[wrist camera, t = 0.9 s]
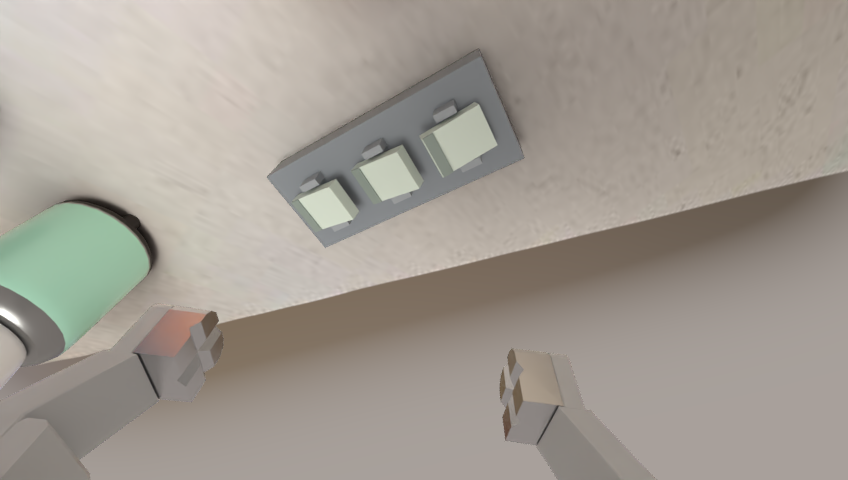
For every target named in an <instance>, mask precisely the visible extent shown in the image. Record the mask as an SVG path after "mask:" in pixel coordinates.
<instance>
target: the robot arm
mask: <svg viewBox="0 0 848 480" xmlns="http://www.w3.org/2000/svg"><path fill="white" fill-rule="evenodd" d="M218 321H219V319H218V316H217V313H216V312H213V311H208V310H201V309H195V308H188V307H182V306H174V305H167V304H160V303H157V304H155V305H153V306H151V307H150V308H149V309H148V310H147V311H146V312H145V313H144V314H143V315H142V316H141V317H140V319H139V320H138V321H137V322H136V323H135V324H134V325H133V326H132V327H131V328H130V329H129V330H128V331H127V332H126V333H125V335H124V336H123V337H122V338H121V339H120V340H119V341H118V342H117V343H116V344H115V345H114V346H113V347H112V348H111V349H110V350H102V351H100V352H98V353H96V354H94V355H92V356H90V357H88V358H86V359H84V360H82V361H80V362H78V363H76V364H74V365H72V366H70V367H67V368H66V369H63V370H61V371H59V372H57V373H55V374H53V375H51V376H49V377H47V378H45V379H43V380H41V381H39V382H37V383H35V384H32V385H30V386H28V387H26V388H24V389H22V390H20V391H18V392H16V393H14V394H12V395H10V396H8V397H6V398H4V399H2V400H0V480H90V473H89V472H88V470H87V469H86V468H85V467H84V465H83V464H82V463H81V462H80V459H81V458H83V457H84V456H85V455H87V454H88V453H89V452H91V451H92V450H93V449H95V448H96V447H97V446H99V445H100V444H102V443H103V442H104V441H106V440H107V439H108V438H110V437H111V436H112V435H114V434H115V433H116V432H118V431H119V430H120V429H122V428H123V427H124V426H126V425H127V424H129V423H130V422H131V421H133V420H134V419H135V418H137V417H138V416H139V415H141V414H142V413H143V412H145V411H146V410H147V409H149V408H150V407H151V406H153V405H154V404H156V403H157V402H158V401H159V399H164V400H174V401H185V402H192V401H193V400H194V398H195V396H196V395H197V393H198V391H199V390H200V389H201V387H202V385H203V383H204V382H205V381H206V379H205V373H204V372H206V371H207V370H209V369H210V368H212V367H214V366H215V364H216V363H217V361H218V359H219V357H220V355H221V352H222V349H223V339H224V338H223V334H222V332H221V331H220V330H219V329H218V328H217V327H216V324H217V323H218ZM507 359H508V365H506V366H505V367H503V370H502V373H501V378H500V400H501V402H502V403H503V405H504V406H505V407H506V409H505V412H504V414H503V417H502V418H503V425H504V433H505V440H506V441H511V442H517V443H525V444H532V445H537V449H538V450H539V452H540V453H541V455H542V456H543V458H544V459H545V461H546V462H547V464H548V466H549V467H550V469H551V470H552V472H553V473H554V475H555V476H556V478H557V479H558V480H656V479H655V477H654V476H653V475H652V474H651V473H650V472H649V471H648V470H647V469H646V468H645V467H644V466H643V465H642V464H641V463H640V462H639V461H638V460H637V458H635V456H634V455H633V454H632V453H631V452H630V451H629V450H628V449H627V448H626V447H625V446H624V445H623V444H622V443H621V442H620V440H618V438H616V436H615V435H614V434H613V433H612V432H611V431H610V430H609V429H608V428H607V427H606V426H605V425H604V424H603V423H602V422H601V421H600V419H599V418H598V417H597V416H596V415H595V414H594V413H593V412H592V411H591V410H585V407H584V404H583V401H582V397H581V394H580V391H579V388H578V385H577V382H576V379H575V376H574V372H573V370H572V366H571V363H570V360H569V358H568V357H567V355H561V354H554V353H546V352H539V351H530V350H521V349H511V350H510V351H509V354H508V357H507Z"/></svg>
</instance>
